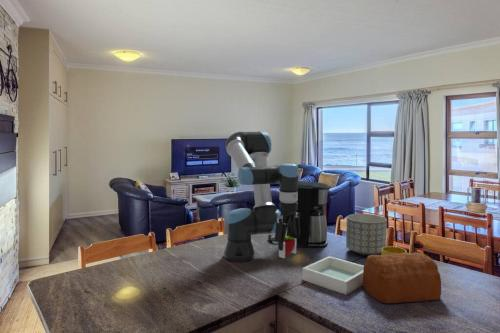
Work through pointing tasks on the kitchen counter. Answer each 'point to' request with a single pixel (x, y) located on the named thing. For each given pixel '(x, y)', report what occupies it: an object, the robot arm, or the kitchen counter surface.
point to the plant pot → (392, 250)
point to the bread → (402, 278)
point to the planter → (366, 233)
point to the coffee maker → (311, 214)
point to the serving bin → (335, 274)
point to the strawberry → (289, 244)
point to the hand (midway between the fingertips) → (287, 254)
